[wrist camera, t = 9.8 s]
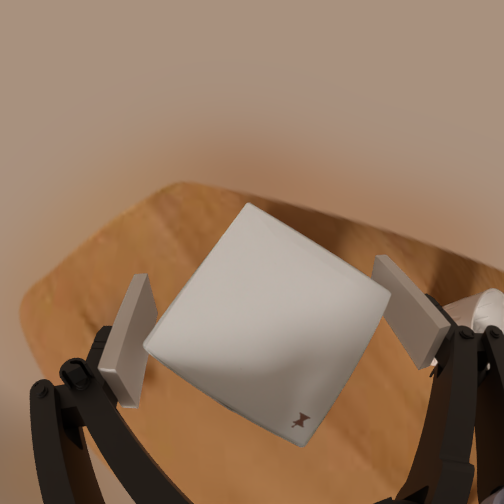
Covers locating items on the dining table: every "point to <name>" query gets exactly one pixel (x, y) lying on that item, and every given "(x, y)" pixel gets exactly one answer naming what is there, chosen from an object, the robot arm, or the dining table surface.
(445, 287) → the dining table surface
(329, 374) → the supplement box
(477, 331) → the white cup
